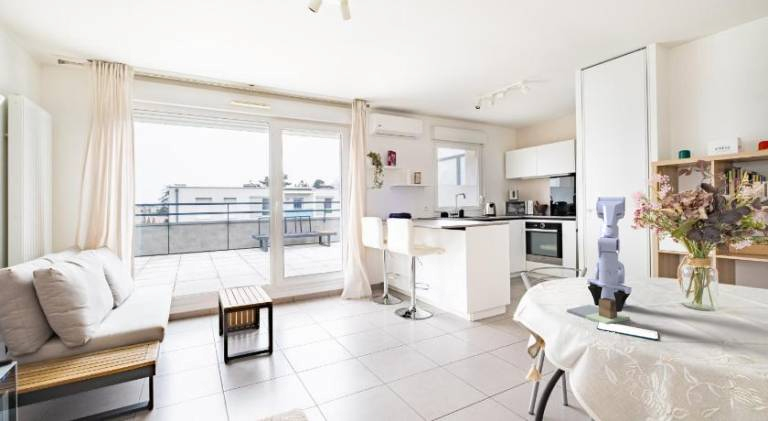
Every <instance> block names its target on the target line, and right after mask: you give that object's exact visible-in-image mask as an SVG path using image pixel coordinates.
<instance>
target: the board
mask: <svg viewBox="0 0 768 421" xmlns="http://www.w3.org/2000/svg"><path fill="white" fill-rule="evenodd" d="M566 313H569V314H571V315H574V316H577V317H579V318H580V317H581V318H583V319H586V320H589V321H592V322H595V323H597V324H598V323H599V322H601V323H604V324H608V323H612V324H617V323H620V322H625V321H627V320H630V316H628V315H626V314H622V313H620V312H617V317H616V318H612V319H608V318H605V317H602V316H599V306H595V305H591V304H587V305H583V306H577V307H573V308H568V309H566Z"/></svg>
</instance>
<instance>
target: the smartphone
mask: <svg viewBox="0 0 768 421" xmlns="http://www.w3.org/2000/svg"><path fill="white" fill-rule="evenodd" d="M596 330H598V331H602V330H603V332H607V331H609V332H608V333H612V332H615V333H614V334H617V333H619V335H624V336H628V337H633V338H639V339H644V340H650V341H654V342H657V341H659V334H658V333H659V332H658V331H657V330H652V329H646V328H640V327H634V326H628V325H624V324H623V325H622V324H617V323H613V324H612V323H608V324H604V323H601V322H599V323H598V322H597V326H596Z"/></svg>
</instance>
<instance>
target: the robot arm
mask: <svg viewBox="0 0 768 421" xmlns="http://www.w3.org/2000/svg"><path fill="white" fill-rule="evenodd" d="M595 202H596V203H595V208H596V210H595V211H596V215H597V218H599V219H600V220H602V222H603V223H602V224H601V225H600V228H599V238H598V239H597V255H598V261H597V262H596V264H595V268H594V270H595V272H594V277H595V278H587V282H586V285H589V286H587V288H588V291H589V292H590V294H591V296H592V299H593V304H594V306H596V307H599V299H602V298H609V299H613V300H615V301H616V312H617V313H621V312H623V308H624V307H625V308H626V307H628V306H629V305H628V304H627V302H626V301H627V299H628V298H629V296H630V295H631V294H632V287H631V286H627V285H624V284H625V280H626V279H625V277H626V276H625V265H624V263H622V262H621V261H619V254H620V250H621V249H620V248H621V247H620V246H621V245H620V244H621V241H620V236H619V233H620V231H619V229H620V228H619V225H618V223H619V221H620V220H621V219H624V217H625V214H626V197H625V196H597V197H596V201H595Z"/></svg>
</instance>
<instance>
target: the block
mask: <svg viewBox="0 0 768 421" xmlns="http://www.w3.org/2000/svg"><path fill="white" fill-rule="evenodd" d="M598 307H599V316H602V317H605V318H608V319H612V318H616V317H617V313H618V312H616V301H615V300H613V299H609V298H602V299H599V306H598Z"/></svg>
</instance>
